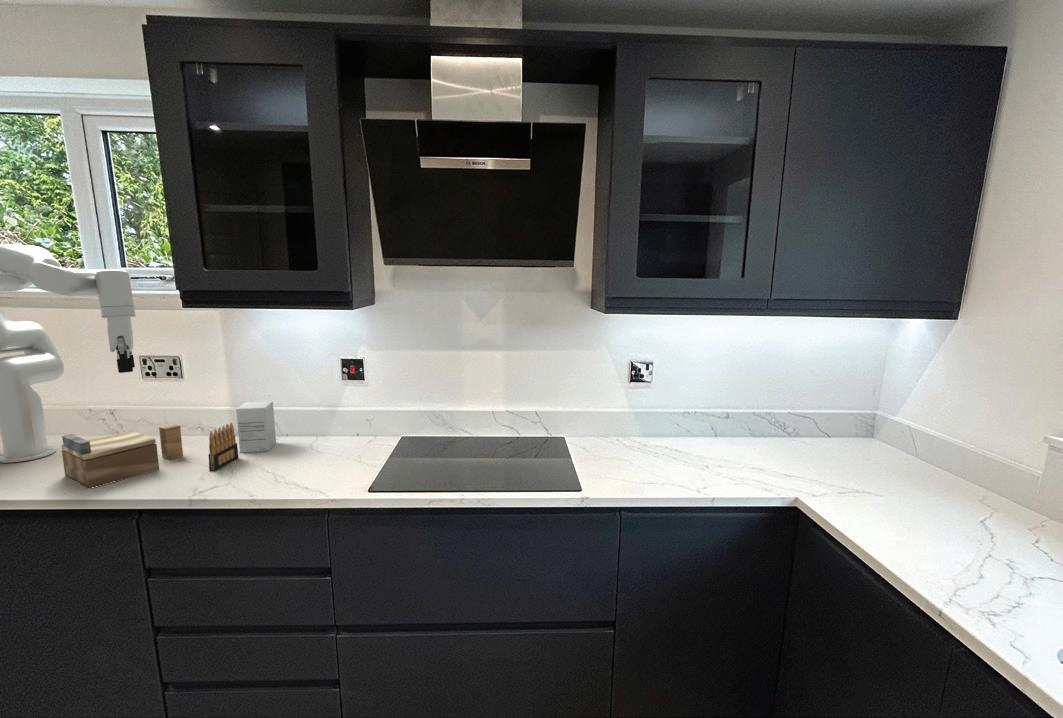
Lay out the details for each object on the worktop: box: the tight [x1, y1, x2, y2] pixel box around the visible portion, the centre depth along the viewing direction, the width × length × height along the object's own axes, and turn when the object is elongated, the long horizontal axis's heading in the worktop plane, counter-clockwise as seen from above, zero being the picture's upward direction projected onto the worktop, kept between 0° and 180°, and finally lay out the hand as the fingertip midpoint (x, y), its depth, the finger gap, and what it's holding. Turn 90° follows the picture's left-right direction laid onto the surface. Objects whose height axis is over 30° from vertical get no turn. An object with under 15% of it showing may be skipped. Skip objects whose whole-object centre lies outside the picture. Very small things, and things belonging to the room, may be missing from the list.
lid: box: [60, 430, 157, 460], centre depth 135 cm, size 15×16×4 cm
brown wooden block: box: [158, 423, 184, 461], centre depth 148 cm, size 4×4×10 cm
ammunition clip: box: [208, 422, 239, 472], centre depth 143 cm, size 11×2×12 cm, turn 178°
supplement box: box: [235, 400, 277, 454], centre depth 158 cm, size 9×9×15 cm
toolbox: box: [61, 443, 160, 489], centre depth 136 cm, size 16×16×8 cm
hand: (127, 370), depth 140 cm, fingers open, 9 cm apart
